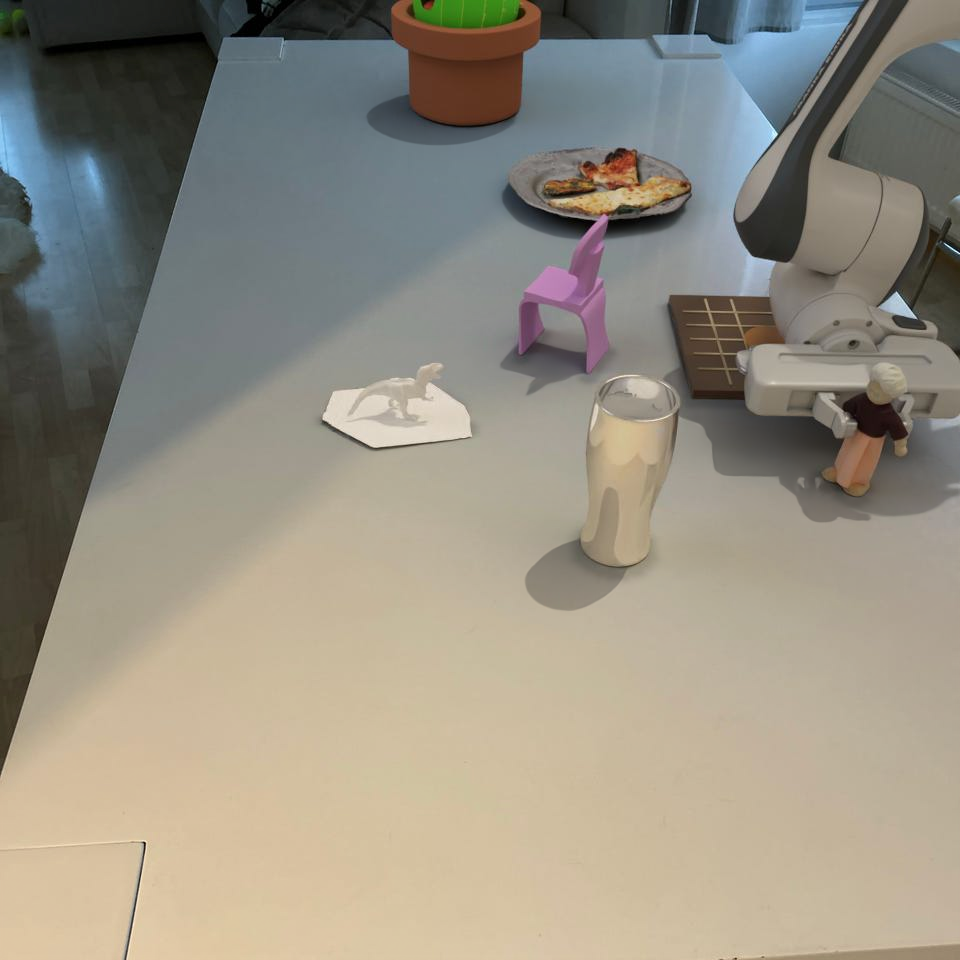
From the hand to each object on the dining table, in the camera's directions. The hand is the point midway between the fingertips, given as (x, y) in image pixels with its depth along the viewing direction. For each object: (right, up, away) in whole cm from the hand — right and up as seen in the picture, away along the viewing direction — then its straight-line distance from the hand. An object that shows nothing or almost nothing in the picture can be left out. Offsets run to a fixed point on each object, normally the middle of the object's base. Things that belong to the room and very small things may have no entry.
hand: (875, 432), depth 87 cm
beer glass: (-23, -10, -1) cm, 25 cm away
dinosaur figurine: (-43, +4, +12) cm, 45 cm away
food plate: (-19, +43, +48) cm, 67 cm away
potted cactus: (-37, +67, +71) cm, 104 cm away
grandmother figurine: (0, -4, +6) cm, 7 cm away
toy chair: (-26, +13, +21) cm, 36 cm away
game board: (-3, +14, +22) cm, 26 cm away
